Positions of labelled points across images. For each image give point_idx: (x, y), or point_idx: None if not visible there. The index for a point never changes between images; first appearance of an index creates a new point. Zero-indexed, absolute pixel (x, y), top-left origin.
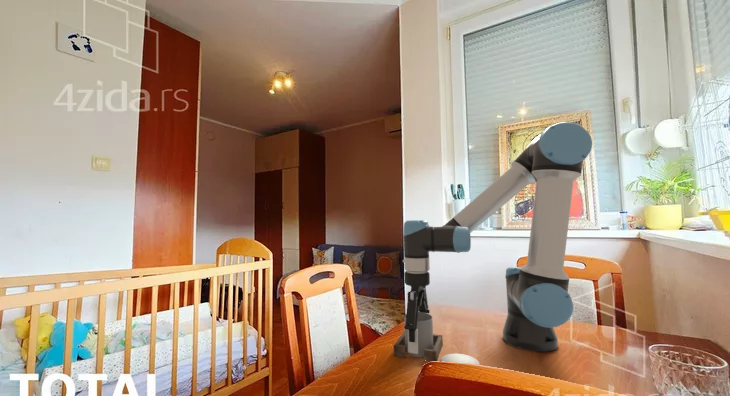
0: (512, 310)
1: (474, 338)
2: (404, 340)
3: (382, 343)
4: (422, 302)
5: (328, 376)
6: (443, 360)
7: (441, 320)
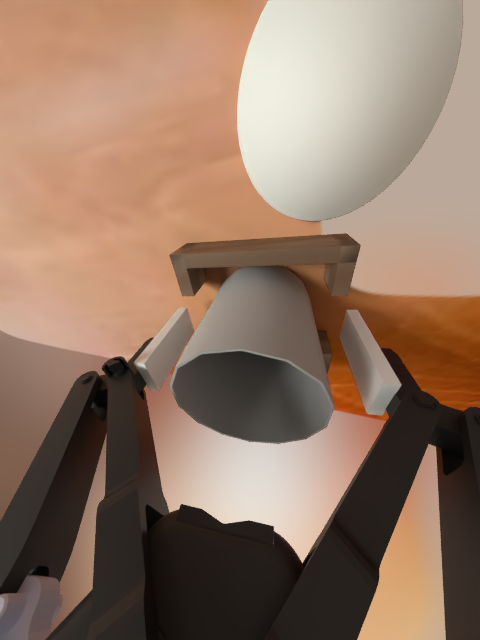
0: None
1: (26, 107)
2: None
3: None
4: (144, 461)
5: None
6: (330, 207)
7: (19, 286)
